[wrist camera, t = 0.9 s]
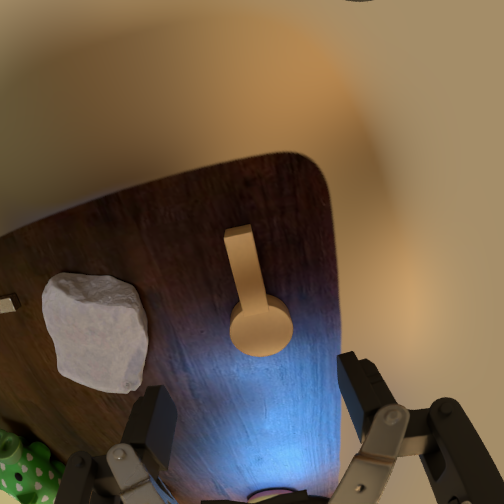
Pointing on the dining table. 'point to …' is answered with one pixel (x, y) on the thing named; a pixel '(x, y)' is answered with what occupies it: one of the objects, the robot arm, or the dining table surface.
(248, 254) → the wooden round paddle
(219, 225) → the dining table surface
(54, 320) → the stone block
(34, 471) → the piggy bank
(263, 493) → the donut
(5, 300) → the fork
